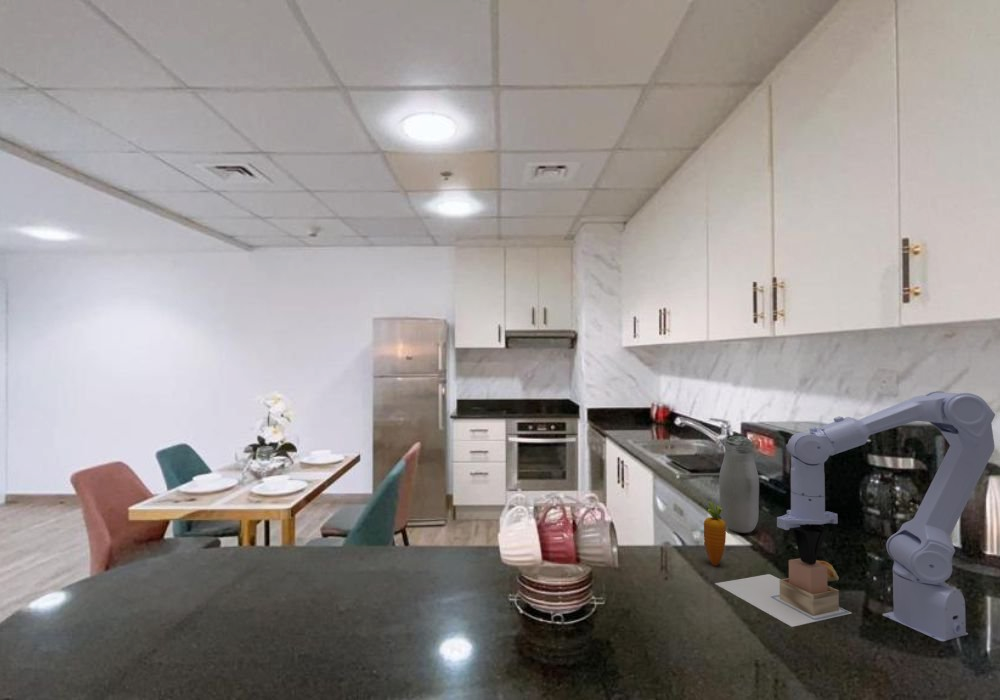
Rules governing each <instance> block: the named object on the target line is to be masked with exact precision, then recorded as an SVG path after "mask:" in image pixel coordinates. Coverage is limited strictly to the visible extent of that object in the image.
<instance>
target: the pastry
mask: <svg viewBox="0 0 1000 700" xmlns="http://www.w3.org/2000/svg"><path fill="white" fill-rule="evenodd" d="M816 562H817V563H820V564H822V565H825V566H827V583H828V582H838V581H839V579H840V578H839V576H838V573H837V571H836V570H835V568H834V567H833V565H832V564H830V563H829V562H827V561H825V560H818V559H817V560H816Z"/></svg>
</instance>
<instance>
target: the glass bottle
mask: <svg viewBox="0 0 1000 700" xmlns="http://www.w3.org/2000/svg"><path fill="white" fill-rule="evenodd" d="M754 449H755V448H754V445H753V442H752V441H751V439H749V438H748V437H745V436H742V435H734V436H730V437H729V438H727V440H726V442H725V446H724V454H723V461H722V464H721V466H720V470H719V475H718V476H719V479H718V485H719V486H718V487H719V490H718V491H719V507H720V508H722V511H721V512H720V515H719V516H720V519H721V520H723V521H724V522H725V523H726V529H727V528H728V530H730V531H733V532H735V533H742V534H748V533H751V532H752V531H754V530H755V529H756V527H757V525H758V522H759V516H760V515H759V513H760V511H759V510H760V509H759V505H760V504H759V503H760V502H759V501H760V497H759V496H760V481H759V480H760V478H759V474H758V470H757V465H756V461H755V454H754Z"/></svg>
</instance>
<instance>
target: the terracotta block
mask: <svg viewBox="0 0 1000 700" xmlns="http://www.w3.org/2000/svg"><path fill="white" fill-rule="evenodd" d="M788 578H789V584H791V585H793V586H795V587H798V588H800V589H802V590H804V591H806V592H808V593H810V594H812V595H813V594H818V593H823V592H828V590H827V586H828V582H827V566H825V565H822V564H820V563H817V562H816V563H815V564H808V563H805V562H803V561H801V558H800V557H799V558H794V559H789V560H788Z"/></svg>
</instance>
